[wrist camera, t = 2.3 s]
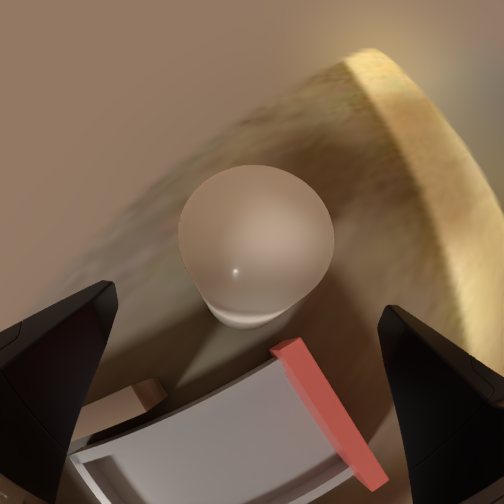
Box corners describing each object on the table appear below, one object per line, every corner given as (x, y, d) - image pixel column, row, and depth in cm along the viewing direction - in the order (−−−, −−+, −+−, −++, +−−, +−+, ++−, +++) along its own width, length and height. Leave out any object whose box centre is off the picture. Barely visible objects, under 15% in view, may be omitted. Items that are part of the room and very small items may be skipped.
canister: (298, 304, 19) (362, 258, 9) (230, 344, 18) (227, 342, 8) (258, 240, 20) (280, 146, 11) (191, 275, 19) (153, 204, 9)
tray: (359, 458, 15) (389, 479, 11) (161, 545, 11) (150, 576, 7) (284, 339, 18) (300, 337, 13) (78, 439, 14) (46, 455, 10)
